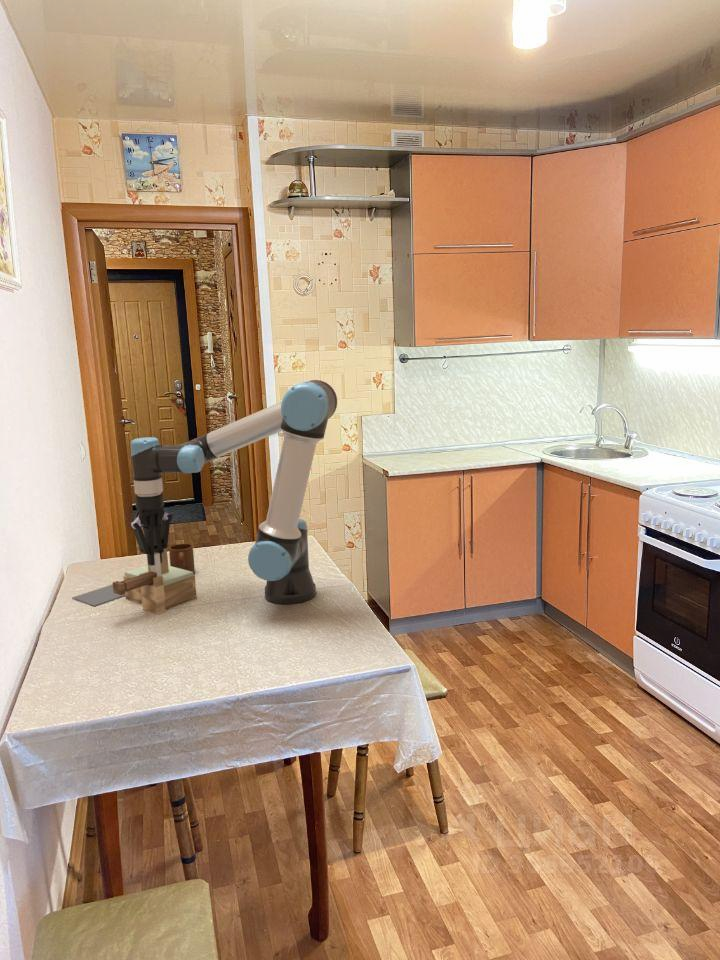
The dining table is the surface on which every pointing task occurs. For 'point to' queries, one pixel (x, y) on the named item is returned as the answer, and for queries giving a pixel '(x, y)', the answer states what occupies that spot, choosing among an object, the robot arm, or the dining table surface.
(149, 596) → the toolbox
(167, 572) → the lid
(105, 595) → the mat
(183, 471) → the robot arm
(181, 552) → the mug
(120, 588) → the bar
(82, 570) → the dining table surface
